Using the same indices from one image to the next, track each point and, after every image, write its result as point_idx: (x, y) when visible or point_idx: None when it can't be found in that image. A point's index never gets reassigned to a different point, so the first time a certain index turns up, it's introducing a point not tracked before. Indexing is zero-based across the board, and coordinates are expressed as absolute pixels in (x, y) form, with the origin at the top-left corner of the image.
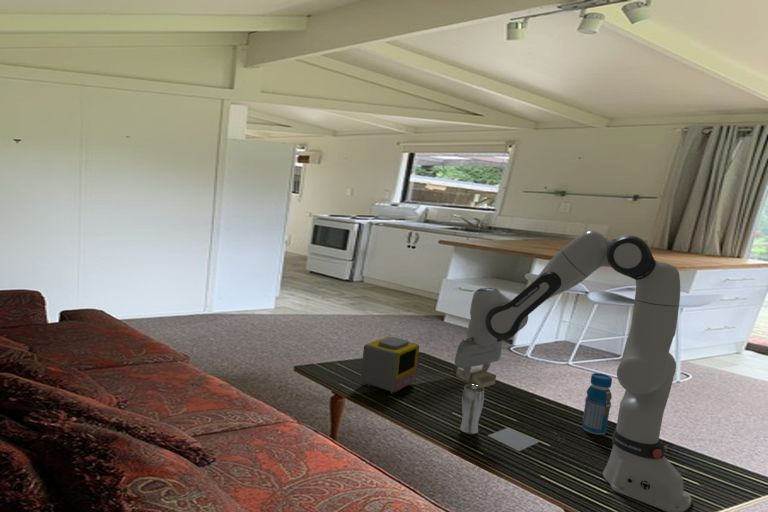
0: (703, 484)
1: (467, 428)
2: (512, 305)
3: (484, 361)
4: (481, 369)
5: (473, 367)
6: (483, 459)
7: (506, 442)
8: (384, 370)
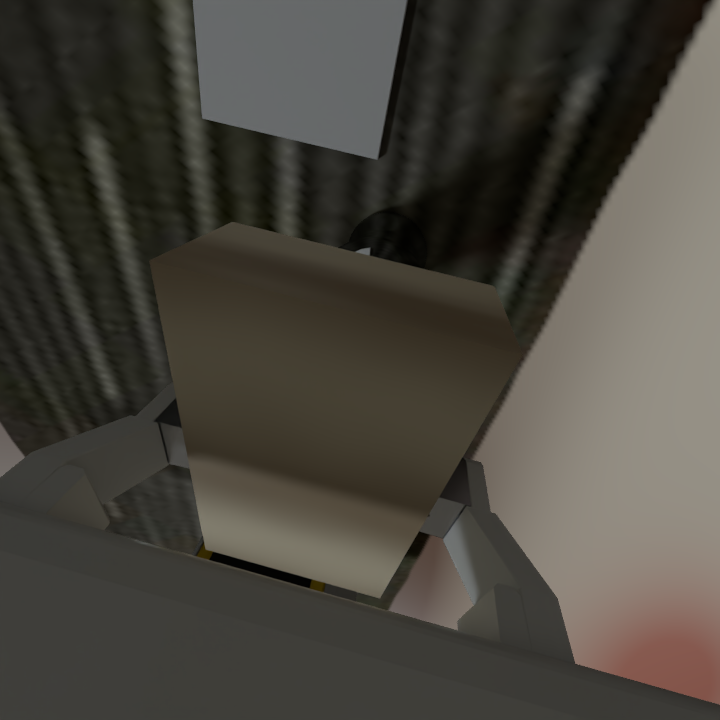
0: None
1: (422, 255)
2: None
3: (157, 624)
4: (175, 463)
5: (225, 522)
6: (670, 27)
7: (375, 18)
8: (342, 594)
